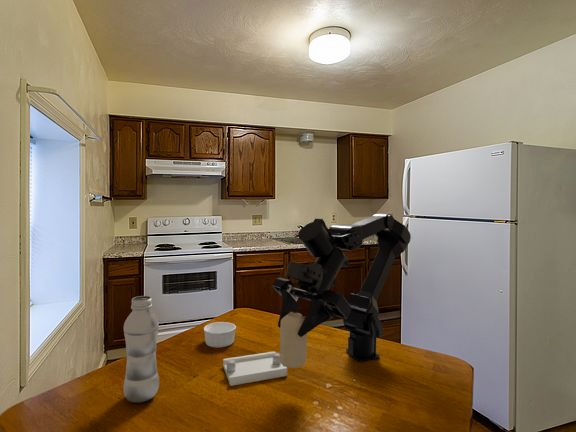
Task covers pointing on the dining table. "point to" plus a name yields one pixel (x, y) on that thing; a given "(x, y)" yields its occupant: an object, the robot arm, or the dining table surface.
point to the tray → (253, 368)
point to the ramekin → (219, 334)
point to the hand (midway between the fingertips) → (288, 331)
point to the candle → (292, 341)
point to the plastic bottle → (141, 351)
